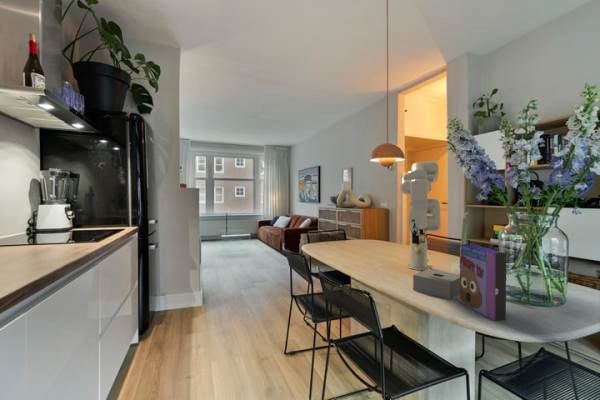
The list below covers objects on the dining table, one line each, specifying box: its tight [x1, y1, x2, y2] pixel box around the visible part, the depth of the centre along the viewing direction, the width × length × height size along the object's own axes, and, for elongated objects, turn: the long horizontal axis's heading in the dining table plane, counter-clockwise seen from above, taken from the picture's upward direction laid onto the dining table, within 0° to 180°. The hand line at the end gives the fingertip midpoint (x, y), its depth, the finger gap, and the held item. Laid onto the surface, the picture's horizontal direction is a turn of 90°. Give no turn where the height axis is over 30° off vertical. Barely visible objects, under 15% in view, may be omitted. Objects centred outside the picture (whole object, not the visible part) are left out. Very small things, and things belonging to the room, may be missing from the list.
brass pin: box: [415, 234, 424, 254], centre depth 131 cm, size 5×5×9 cm
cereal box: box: [459, 243, 507, 322], centre depth 105 cm, size 17×5×24 cm, turn 5°
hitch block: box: [412, 268, 460, 300], centre depth 127 cm, size 16×16×7 cm
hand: (418, 242), depth 131 cm, fingers closed on brass pin, 5 cm apart
